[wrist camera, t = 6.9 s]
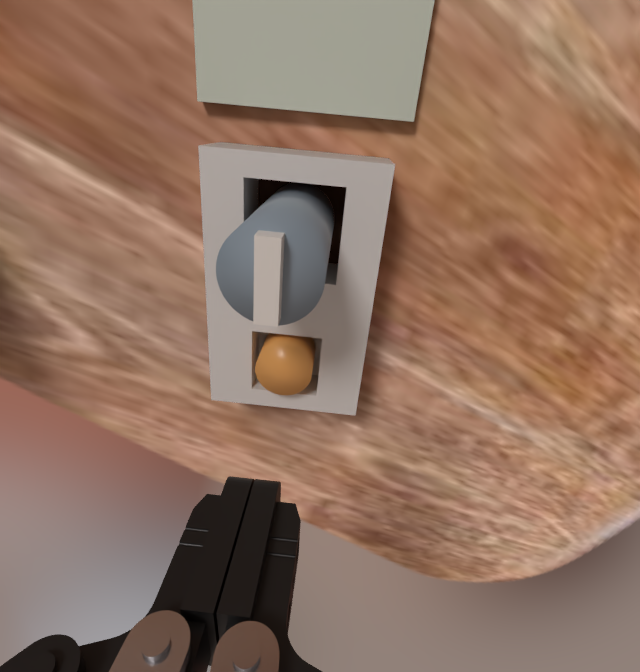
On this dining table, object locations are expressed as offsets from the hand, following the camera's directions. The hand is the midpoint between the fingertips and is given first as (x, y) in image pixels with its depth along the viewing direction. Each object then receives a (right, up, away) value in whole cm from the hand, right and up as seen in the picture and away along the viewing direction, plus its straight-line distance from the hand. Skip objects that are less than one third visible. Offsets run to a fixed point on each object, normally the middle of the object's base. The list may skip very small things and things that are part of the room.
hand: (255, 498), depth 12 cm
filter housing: (0, +9, +16) cm, 18 cm away
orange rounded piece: (0, +4, +16) cm, 17 cm away
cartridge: (+1, +12, +14) cm, 19 cm away
